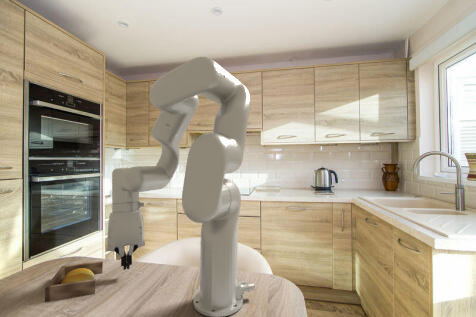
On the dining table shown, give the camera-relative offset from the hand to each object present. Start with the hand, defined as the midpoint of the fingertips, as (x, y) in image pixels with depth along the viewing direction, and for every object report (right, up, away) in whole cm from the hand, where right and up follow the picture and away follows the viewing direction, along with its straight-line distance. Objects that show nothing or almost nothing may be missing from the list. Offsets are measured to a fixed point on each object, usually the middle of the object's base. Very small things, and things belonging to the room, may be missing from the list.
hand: (126, 267), depth 73 cm
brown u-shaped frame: (-12, -3, -4) cm, 13 cm away
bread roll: (-13, -4, -4) cm, 14 cm away
